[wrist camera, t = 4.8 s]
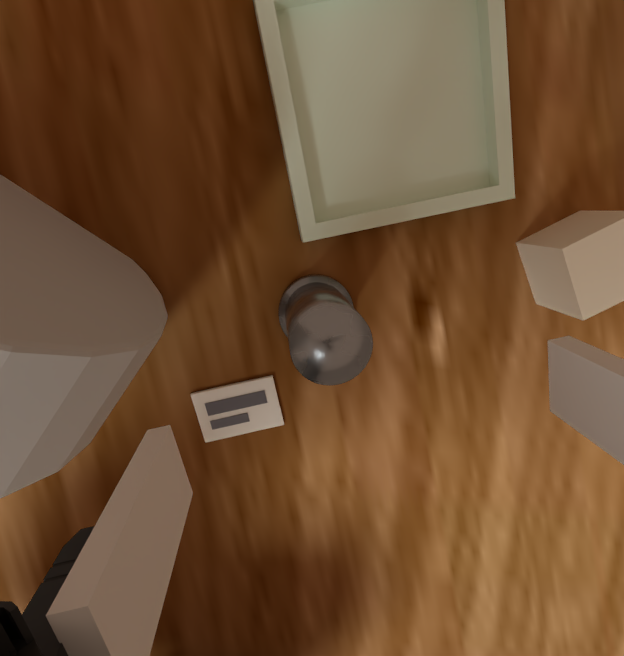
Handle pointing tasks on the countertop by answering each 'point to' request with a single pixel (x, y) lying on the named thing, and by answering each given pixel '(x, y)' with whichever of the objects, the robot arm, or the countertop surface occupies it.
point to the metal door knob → (324, 330)
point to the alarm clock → (63, 335)
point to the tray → (388, 108)
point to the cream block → (577, 263)
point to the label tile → (237, 408)
